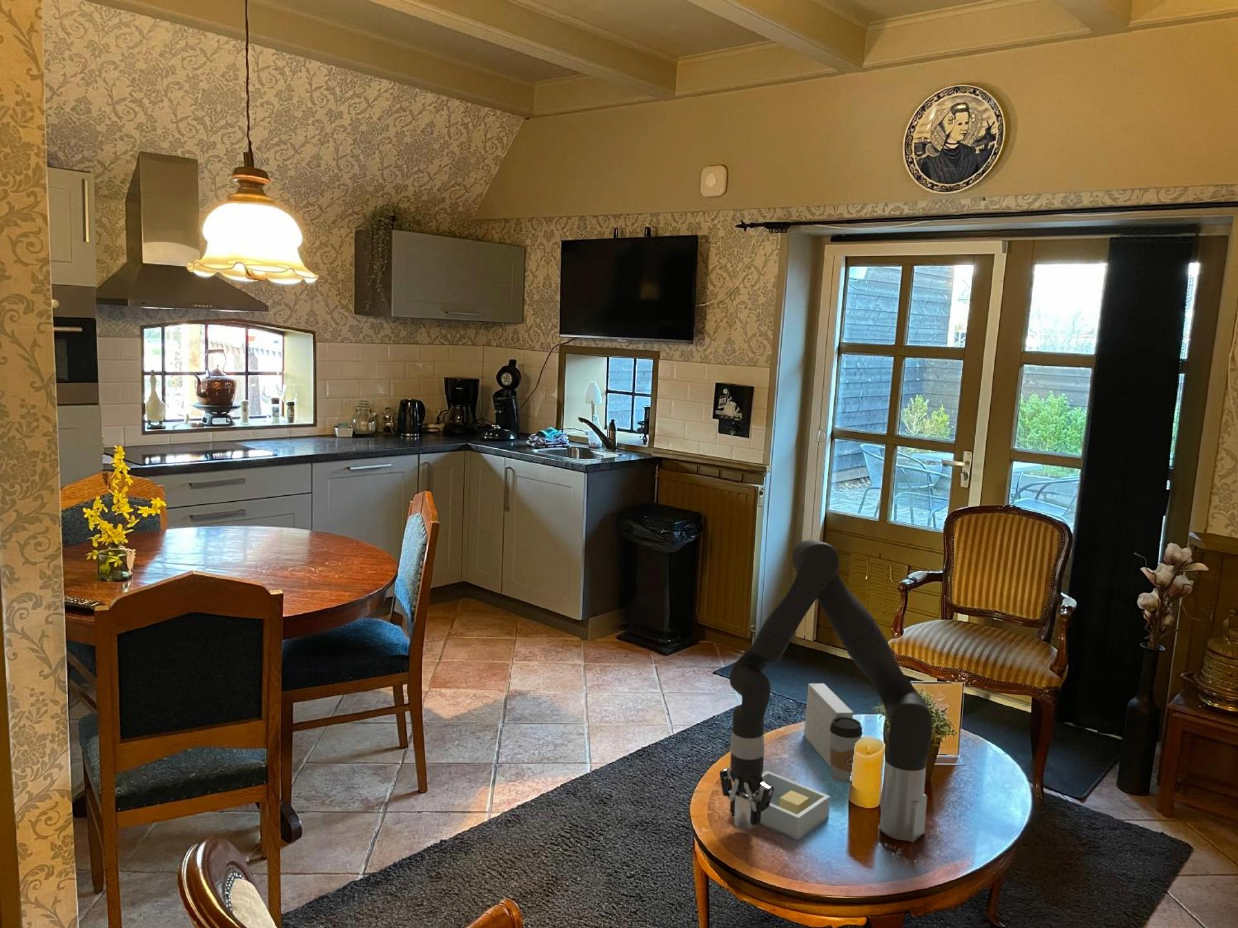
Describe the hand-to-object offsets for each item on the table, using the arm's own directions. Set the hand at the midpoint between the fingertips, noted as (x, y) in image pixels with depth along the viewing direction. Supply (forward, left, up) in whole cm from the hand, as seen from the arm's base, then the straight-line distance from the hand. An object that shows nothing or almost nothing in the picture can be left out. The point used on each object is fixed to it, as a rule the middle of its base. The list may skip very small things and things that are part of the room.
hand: (745, 819), depth 216 cm
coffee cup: (-3, -41, -3) cm, 41 cm away
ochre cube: (-5, -13, -3) cm, 14 cm away
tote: (-2, -13, -3) cm, 14 cm away
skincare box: (+8, -51, -4) cm, 52 cm away
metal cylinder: (0, 0, -1) cm, 1 cm away
